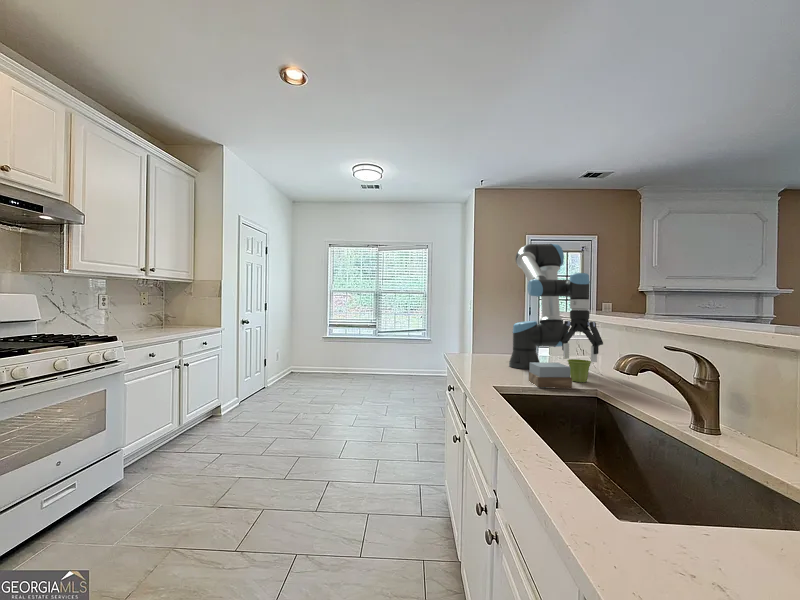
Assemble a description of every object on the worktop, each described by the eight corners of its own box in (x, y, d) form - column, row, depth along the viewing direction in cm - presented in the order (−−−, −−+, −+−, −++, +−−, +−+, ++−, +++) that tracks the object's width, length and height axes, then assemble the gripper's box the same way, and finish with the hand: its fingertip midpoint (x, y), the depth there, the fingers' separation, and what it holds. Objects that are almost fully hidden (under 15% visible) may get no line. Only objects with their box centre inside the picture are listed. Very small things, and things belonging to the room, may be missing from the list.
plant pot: (586, 379, 179) (586, 359, 179) (594, 383, 169) (594, 362, 169) (564, 378, 180) (564, 358, 180) (571, 383, 170) (571, 362, 170)
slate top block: (529, 372, 173) (529, 362, 173) (557, 372, 173) (558, 362, 173) (539, 377, 161) (539, 367, 161) (570, 377, 161) (570, 367, 161)
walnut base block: (528, 382, 174) (528, 371, 174) (560, 382, 173) (560, 372, 173) (538, 389, 161) (538, 377, 161) (571, 389, 160) (572, 377, 160)
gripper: (549, 309, 184) (549, 357, 183) (600, 309, 162) (600, 364, 161) (561, 309, 187) (561, 356, 187) (612, 310, 165) (612, 363, 165)
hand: (579, 360), depth 174 cm, fingers open, 13 cm apart
